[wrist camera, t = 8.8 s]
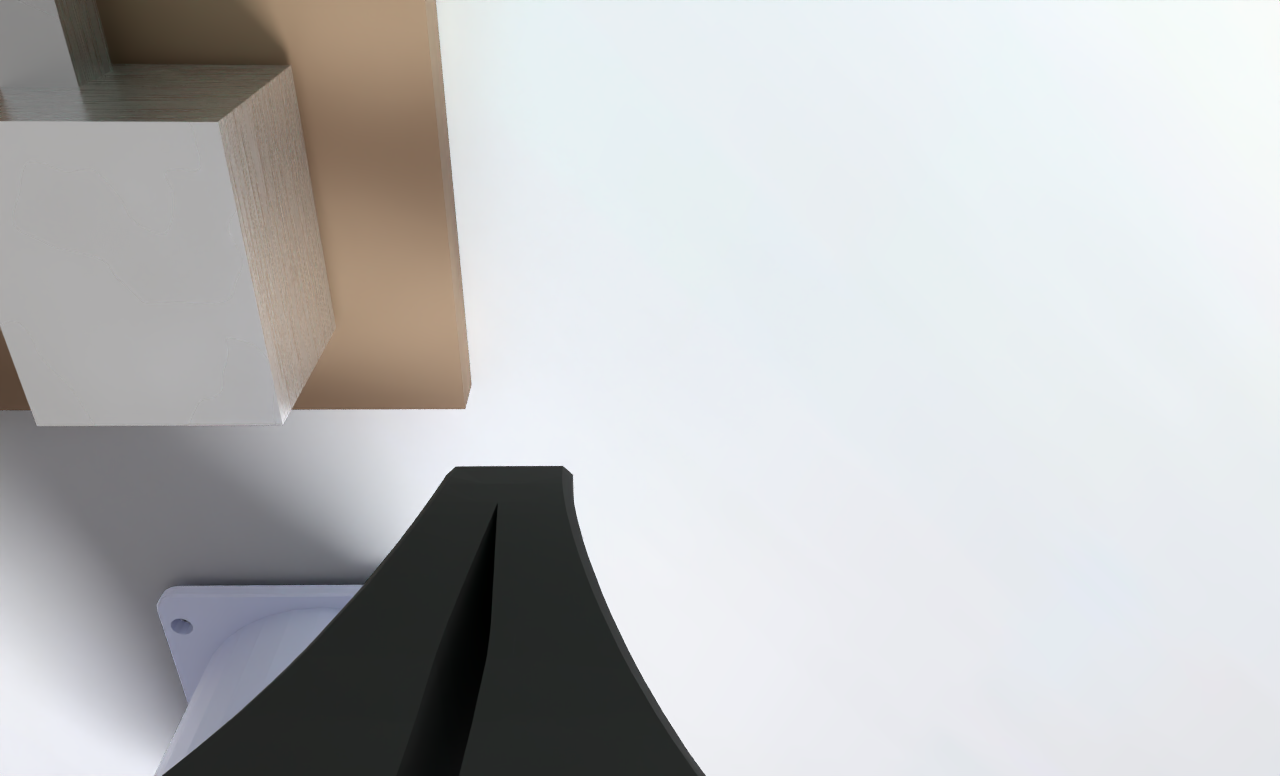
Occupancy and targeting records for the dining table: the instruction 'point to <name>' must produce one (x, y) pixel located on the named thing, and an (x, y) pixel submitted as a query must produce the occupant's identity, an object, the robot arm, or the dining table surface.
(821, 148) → the dining table surface
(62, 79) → the gauge carriage
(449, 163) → the base
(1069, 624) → the dining table surface
